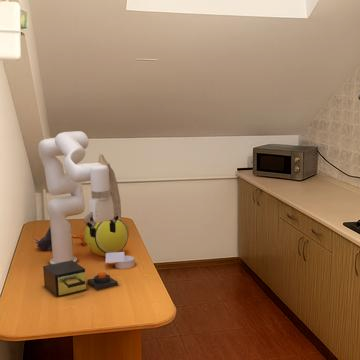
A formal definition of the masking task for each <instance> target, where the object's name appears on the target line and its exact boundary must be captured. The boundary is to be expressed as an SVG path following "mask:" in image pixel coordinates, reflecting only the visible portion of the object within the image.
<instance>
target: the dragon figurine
mask: <svg viewBox="0 0 360 360" xmlns="http://www.w3.org/2000/svg"><path fill="white" fill-rule="evenodd" d="M85 230H86V228H84V230H83V231H82V233H81V234H72V239H80V241H81V244H82V245H83V246H85V244H86V242H85V240H84V233H85ZM34 241H35V242H34V243H35V244H36V247H37V248H39V249H40V250H42V251H52V240H51V227H50V226H49V228H48V230H47V231H46V233H45V235H44V237H42V238H41V239H40V240H38V239H36V238H34Z"/></svg>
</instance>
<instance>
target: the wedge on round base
mask: <svg viewBox="0 0 360 360" xmlns="http://www.w3.org/2000/svg"><path fill="white" fill-rule="evenodd" d="M111 263H112V264H113V263H114V267H115V268H116V269H120V270H121V269H123V270H125V269H129V268H130V269H131V268H133V267H134V266H135V257H134V256H132V255H125V251H120V252H114V253H106V257H105V264H111Z"/></svg>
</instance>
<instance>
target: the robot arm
mask: <svg viewBox="0 0 360 360" xmlns="http://www.w3.org/2000/svg"><path fill="white" fill-rule="evenodd" d="M88 146H89V138H88V136H87V134H86V133H85V132H84V131H81V130H75V131H63V132H60V133H58V134H57V135H56V136H55V137H49V138H45V139H42V140H40V141H39V143H38V146H37V151H38V155H39V159H40V161H41V163H42V165H43V168H44V169H43V170H44V176H45V182H46V189H47V191H48V193H49V195H52V196H60V197H55V198H52V199H50V200H49V201H48V202H47V204H46V210H47V214H48V218H49V225H50V226H49V228H50V227H51V240H52V258H50V260H49V265H51V264H56V263H61V262H66V261H71V260H72V261H74V262H75V263H77V261H78V258H77V257H76V256H74V246H73V245H74V244H73V238H72V235H73V231H72V224H71V223H70V221H69V220H68V219H67V218H68V217H72V216H79V215H82V214H83V213H84V212H85V210H86V203H85V197H84V190H83V184H82V183H85V182H90V191H91V192H90V193H91V198H89V201H88V202H89V203H88V214H87V215H86V216H85V217H84V218H83V219H82V220H83V222H84V224H85V226H86V227H87V226H88V227H89V228H90V236H91V237H94V238H95V237H96V229H95V228H94V227H95V225H96V223H100V222H105V221H110V222H111V223H110V232H113V233H115V232H116V231H115V230H116V226H115V223H116V222H117V220H118V218H119V214H120V212H119V211H116V210H114V207H113V201H112V198H111V197H110V193H112V190H110V185H109V169H108V166H106V165H102V164H100V163H98V162H89V163H87V162H86V163H81V162H82V161H83V160H84V158H85V156H86V149H87V148H88ZM63 156H64V157H65V159H64V163H62V162H61V160H60V159H59V158H58V157H63ZM79 163H80V164H79ZM67 194H70V195H68V196H61V195H67ZM114 213H115V216H114Z"/></svg>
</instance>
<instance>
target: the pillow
mask: <svg viewBox="0 0 360 360" xmlns="http://www.w3.org/2000/svg"><path fill="white" fill-rule="evenodd" d="M97 163H100V164H102V165H106V166H108V169H109V185H110V190H112V193H110V197H111V198H112V201H113V207H114V210H116V211H119V212H120V214H119V219H120V220H121V221H122V206H121V205H122V203H121V196H120V195H121V194H120V191H119V186H118V182H117V178H116V174H115V171H114V169H113V168H112V167H111V164H110V163H109V162H108V161H107V159H106V158H105V156H104V155H103V154H99V155H98V162H97ZM114 216H115V213H114Z"/></svg>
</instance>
